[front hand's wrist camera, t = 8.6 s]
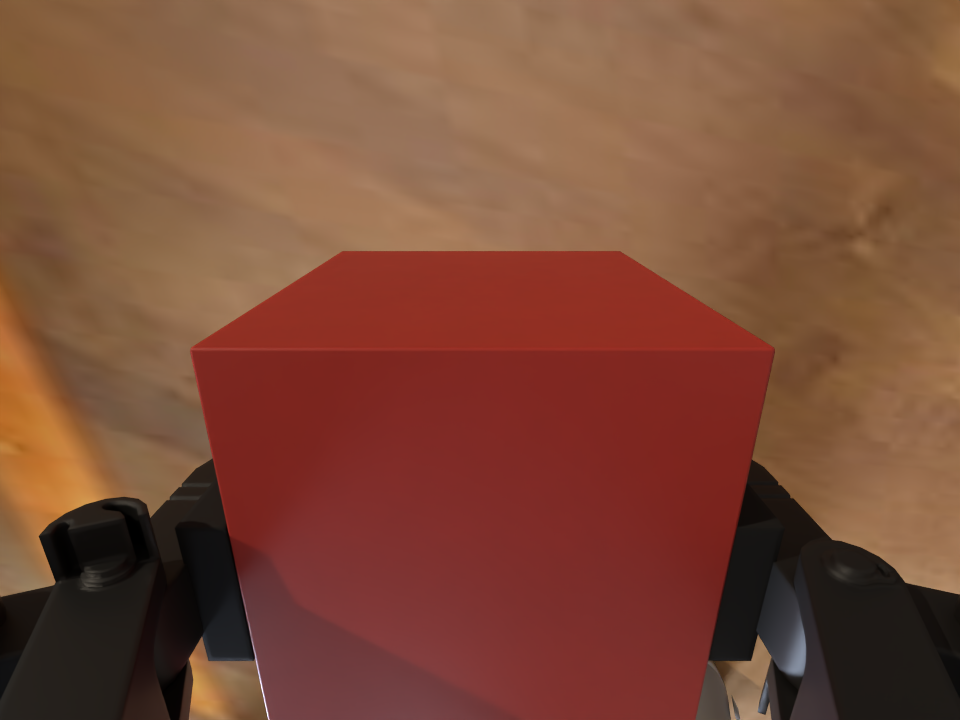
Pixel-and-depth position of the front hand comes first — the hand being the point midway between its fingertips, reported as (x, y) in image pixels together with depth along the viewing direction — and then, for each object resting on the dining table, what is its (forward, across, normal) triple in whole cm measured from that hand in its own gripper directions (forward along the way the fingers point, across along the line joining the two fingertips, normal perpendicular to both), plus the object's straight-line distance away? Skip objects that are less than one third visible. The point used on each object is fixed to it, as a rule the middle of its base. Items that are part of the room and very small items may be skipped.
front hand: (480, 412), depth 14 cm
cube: (+1, 0, 0) cm, 1 cm away
